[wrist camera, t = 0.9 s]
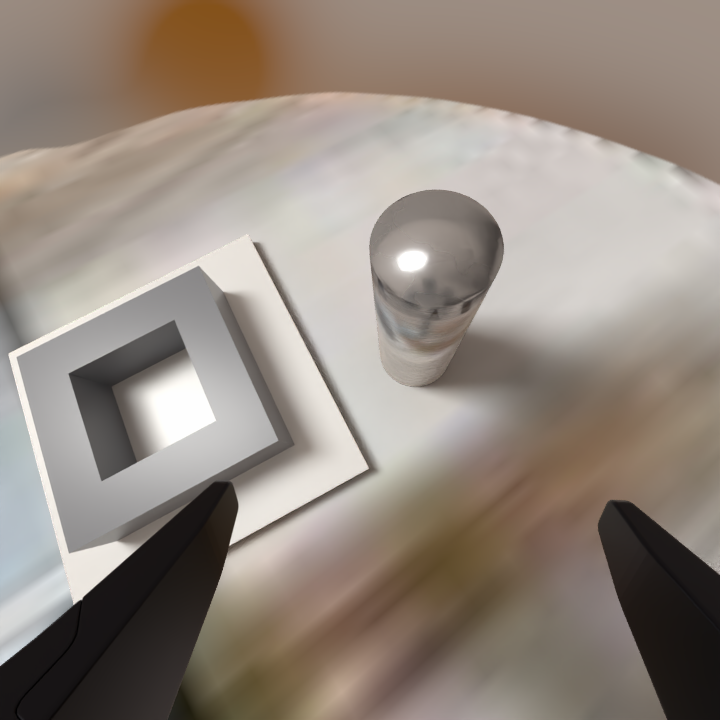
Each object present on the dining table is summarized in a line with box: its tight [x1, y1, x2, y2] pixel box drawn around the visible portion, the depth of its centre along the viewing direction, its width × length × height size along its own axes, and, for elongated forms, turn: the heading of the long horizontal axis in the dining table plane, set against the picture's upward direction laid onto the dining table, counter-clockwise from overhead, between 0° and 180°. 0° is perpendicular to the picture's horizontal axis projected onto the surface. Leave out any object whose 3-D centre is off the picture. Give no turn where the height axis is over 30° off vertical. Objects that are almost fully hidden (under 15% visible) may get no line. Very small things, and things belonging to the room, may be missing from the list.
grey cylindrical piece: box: [369, 190, 504, 387], centre depth 19 cm, size 4×4×12 cm
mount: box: [8, 234, 370, 604], centre depth 23 cm, size 18×18×4 cm
